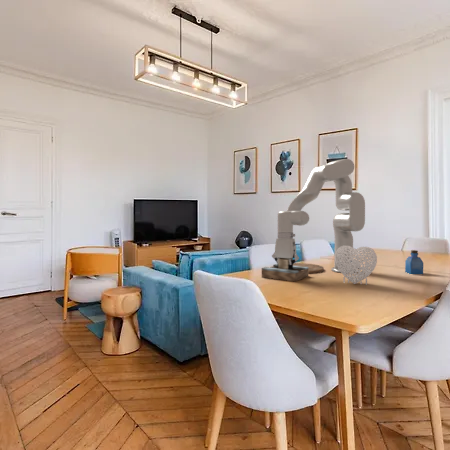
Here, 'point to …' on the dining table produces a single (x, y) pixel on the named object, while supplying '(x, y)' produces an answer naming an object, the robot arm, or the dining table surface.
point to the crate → (285, 273)
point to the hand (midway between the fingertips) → (285, 271)
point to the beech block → (283, 263)
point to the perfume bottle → (414, 263)
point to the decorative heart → (355, 263)
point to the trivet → (311, 267)
